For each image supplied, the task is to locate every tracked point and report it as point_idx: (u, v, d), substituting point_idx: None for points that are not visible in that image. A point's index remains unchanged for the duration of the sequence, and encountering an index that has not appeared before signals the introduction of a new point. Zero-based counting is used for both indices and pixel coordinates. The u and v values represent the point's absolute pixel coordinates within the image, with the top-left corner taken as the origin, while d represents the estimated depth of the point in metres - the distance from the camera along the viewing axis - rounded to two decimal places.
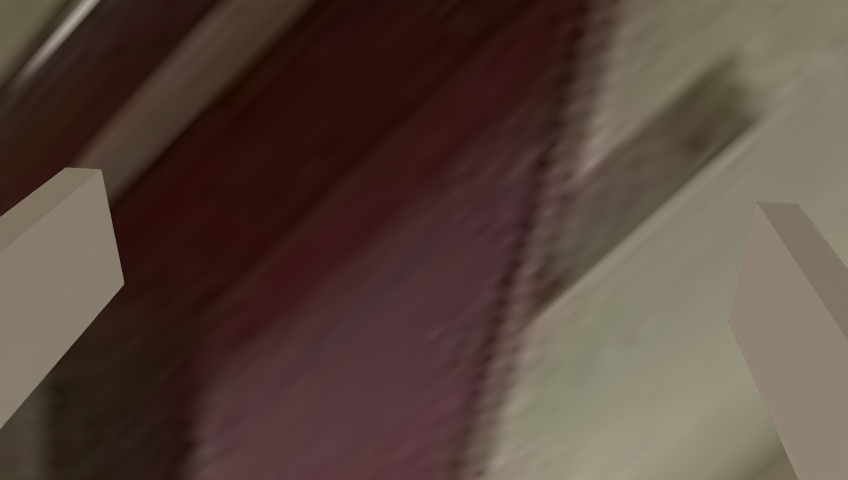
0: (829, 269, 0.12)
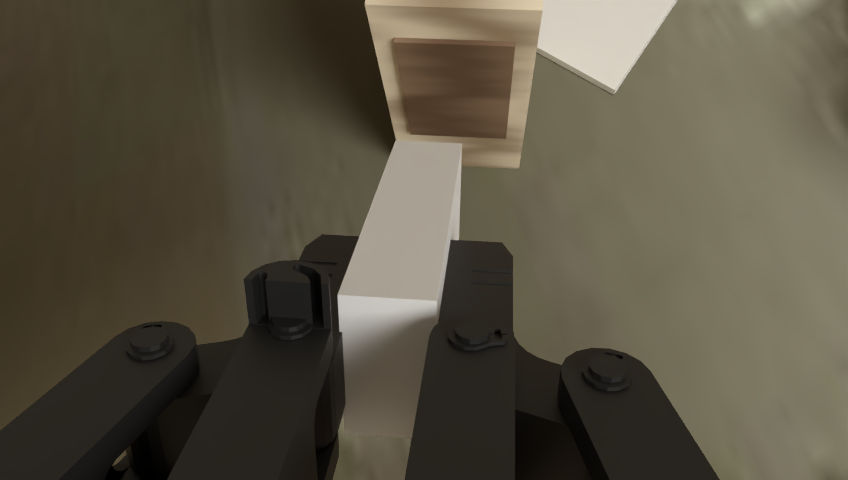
0: (439, 188, 0.15)
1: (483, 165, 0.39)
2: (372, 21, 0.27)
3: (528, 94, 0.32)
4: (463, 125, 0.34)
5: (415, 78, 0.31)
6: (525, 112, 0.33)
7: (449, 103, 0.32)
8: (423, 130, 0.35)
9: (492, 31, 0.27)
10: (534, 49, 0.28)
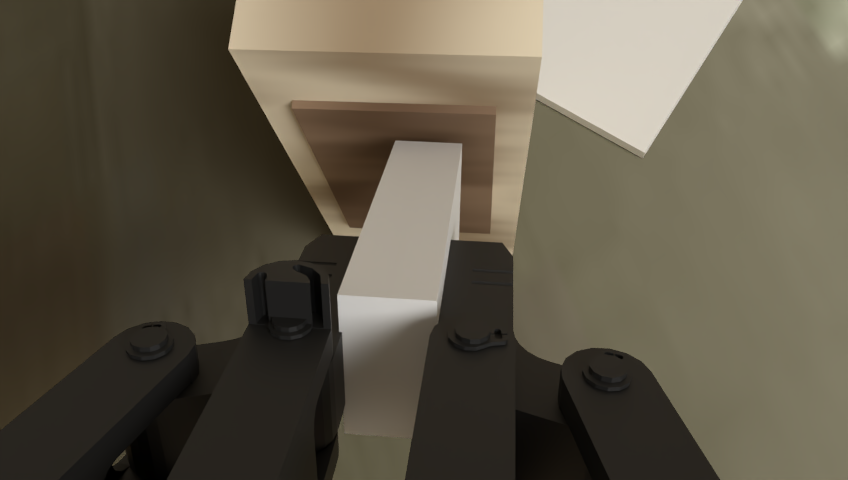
0: (439, 188, 0.15)
1: None
2: (249, 75, 0.16)
3: (521, 179, 0.20)
4: None
5: (340, 159, 0.19)
6: (517, 201, 0.22)
7: None
8: None
9: (457, 90, 0.16)
10: (529, 117, 0.17)
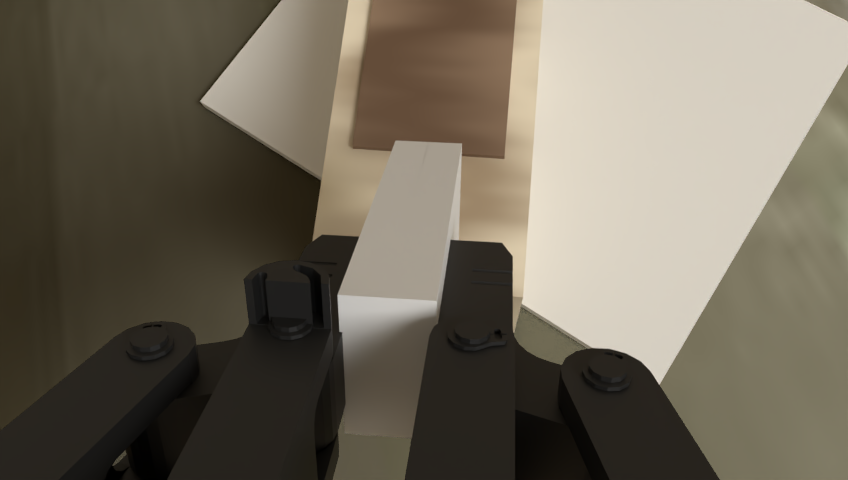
0: (439, 188, 0.15)
1: None
2: None
3: (538, 37, 0.23)
4: (440, 113, 0.22)
5: None
6: (534, 87, 0.23)
7: (429, 48, 0.23)
8: (375, 132, 0.22)
9: None
10: None
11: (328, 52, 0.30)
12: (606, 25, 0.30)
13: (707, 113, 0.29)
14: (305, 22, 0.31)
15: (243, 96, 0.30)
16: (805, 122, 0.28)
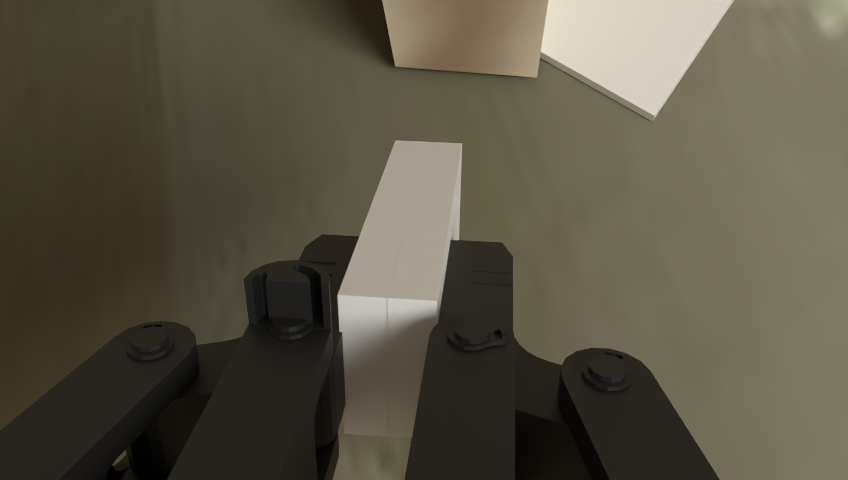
0: (439, 188, 0.15)
1: None
2: None
3: None
4: None
5: None
6: None
7: None
8: None
9: None
10: None
11: None
12: None
13: None
14: None
15: None
16: None
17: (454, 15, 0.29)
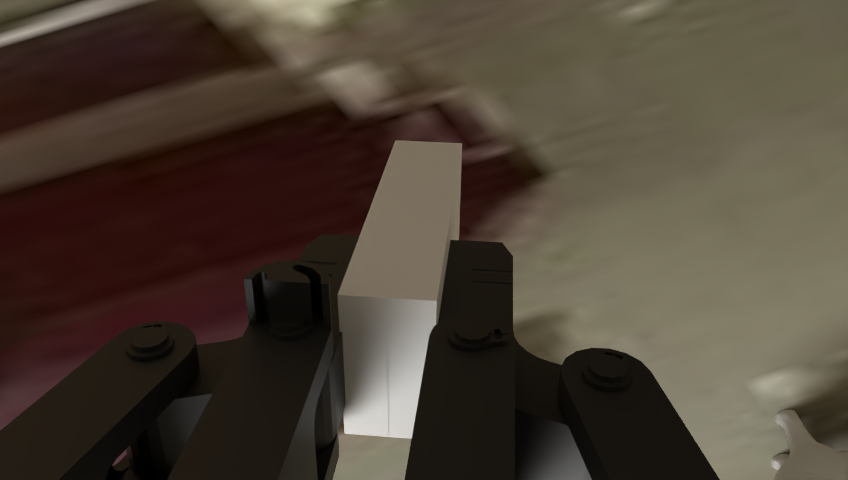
0: (439, 188, 0.15)
1: None
2: None
3: None
4: None
5: None
6: None
7: None
8: None
9: None
10: None
11: None
12: None
13: None
14: None
15: None
16: None
17: None
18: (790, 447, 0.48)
